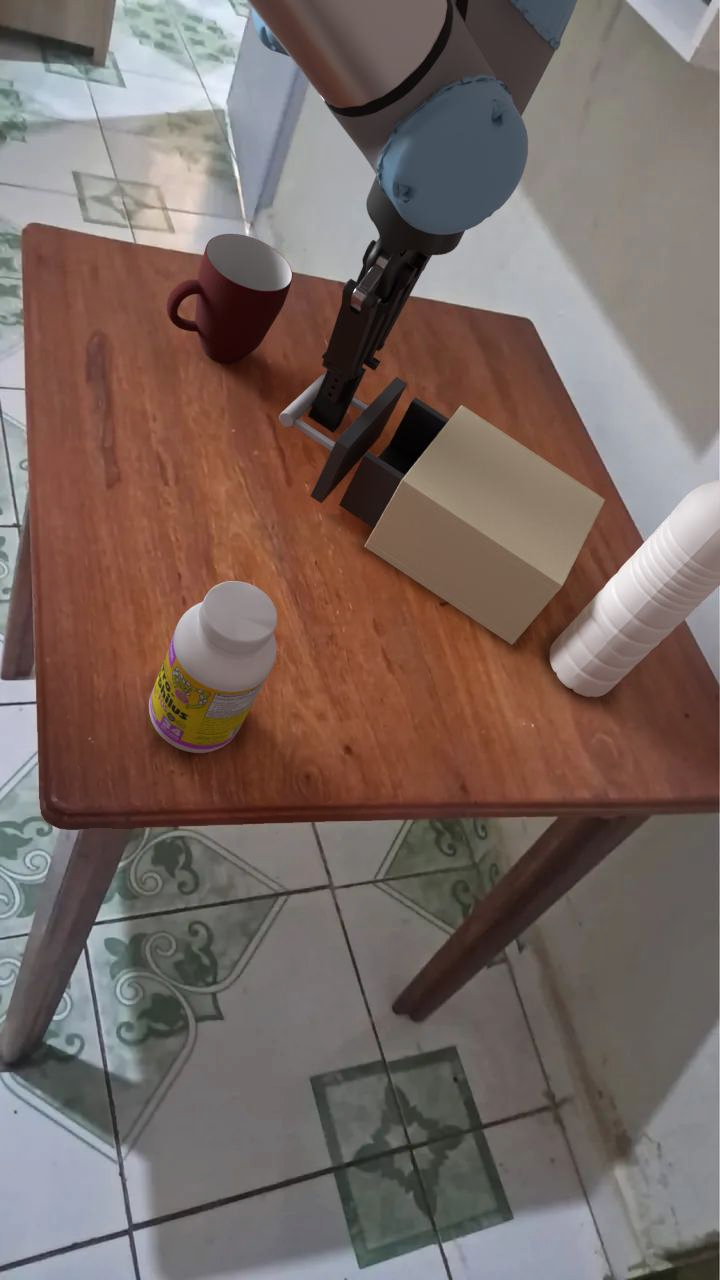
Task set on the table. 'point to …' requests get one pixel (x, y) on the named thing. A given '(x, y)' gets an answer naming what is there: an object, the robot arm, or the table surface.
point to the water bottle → (644, 597)
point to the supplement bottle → (214, 668)
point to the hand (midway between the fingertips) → (324, 420)
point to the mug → (234, 296)
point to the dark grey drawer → (373, 473)
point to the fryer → (486, 525)
